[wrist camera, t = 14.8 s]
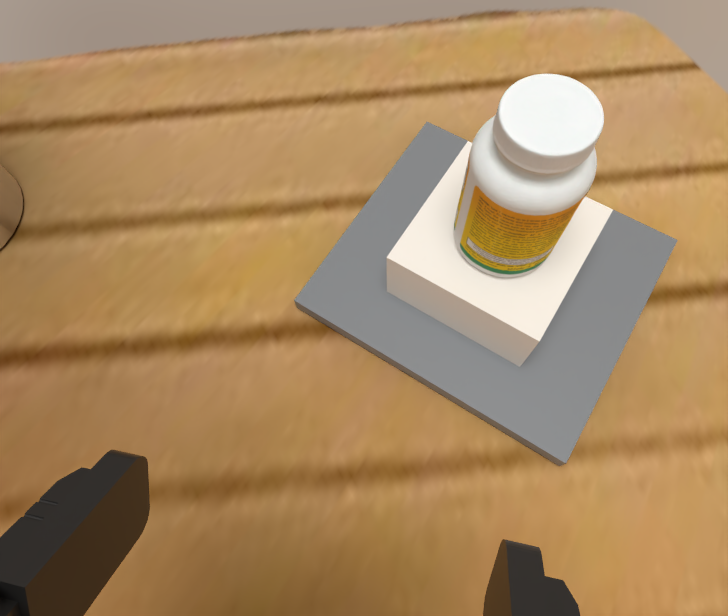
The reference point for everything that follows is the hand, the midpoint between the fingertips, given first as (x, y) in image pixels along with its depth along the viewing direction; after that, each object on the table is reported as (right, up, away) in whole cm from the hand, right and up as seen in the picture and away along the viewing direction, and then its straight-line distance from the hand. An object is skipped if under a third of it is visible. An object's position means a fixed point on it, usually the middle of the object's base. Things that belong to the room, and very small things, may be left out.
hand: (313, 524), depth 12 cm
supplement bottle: (+9, +9, +18) cm, 22 cm away
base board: (+9, +7, +23) cm, 26 cm away
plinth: (+9, +7, +22) cm, 25 cm away
